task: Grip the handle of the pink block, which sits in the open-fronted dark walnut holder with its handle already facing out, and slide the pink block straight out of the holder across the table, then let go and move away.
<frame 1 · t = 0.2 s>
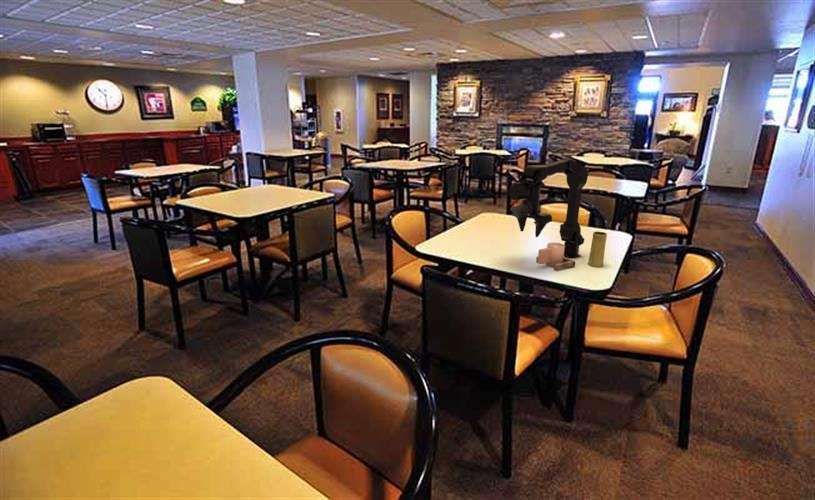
hand: (529, 234, 181), 14 cm above the table, tool pointing down, fingers open, 9 cm apart
vase: (595, 265, 186), on the table
pink block: (550, 255, 184), in the walnut holder
walnut holder: (553, 264, 186), on the table
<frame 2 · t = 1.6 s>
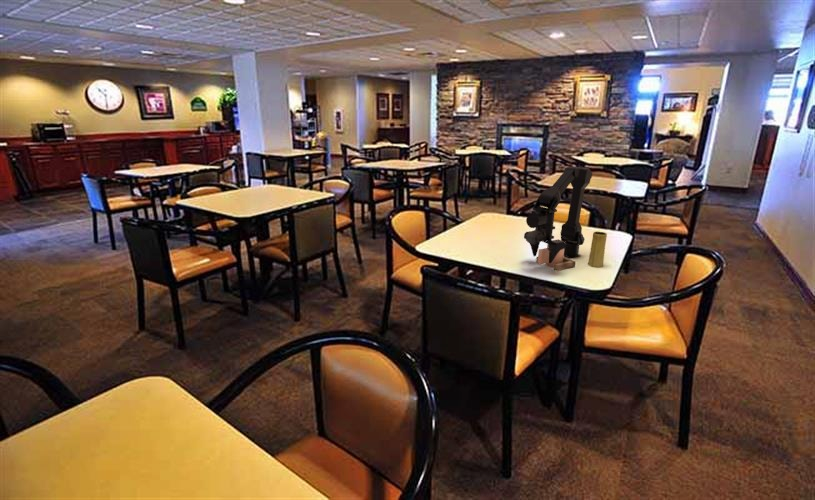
hand: (542, 259, 182), 4 cm above the table, tool pointing down, fingers open, 9 cm apart
nothing on the table moved.
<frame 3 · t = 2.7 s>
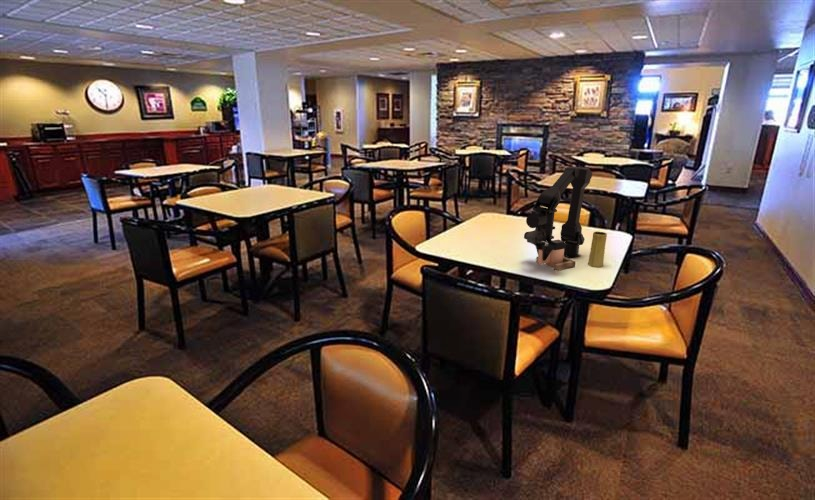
hand: (542, 259, 182), 4 cm above the table, tool pointing down, fingers closed on pink block
pink block: (550, 255, 184), in the walnut holder, touching gripper
everything else where it was.
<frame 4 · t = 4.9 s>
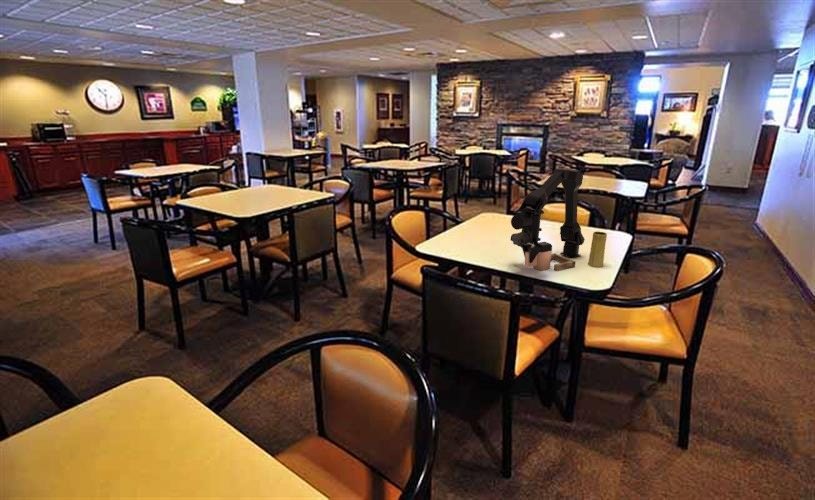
hand: (528, 262, 179), 4 cm above the table, tool pointing down, fingers closed on pink block
pink block: (537, 258, 181), on the table, touching gripper
everything else where it was.
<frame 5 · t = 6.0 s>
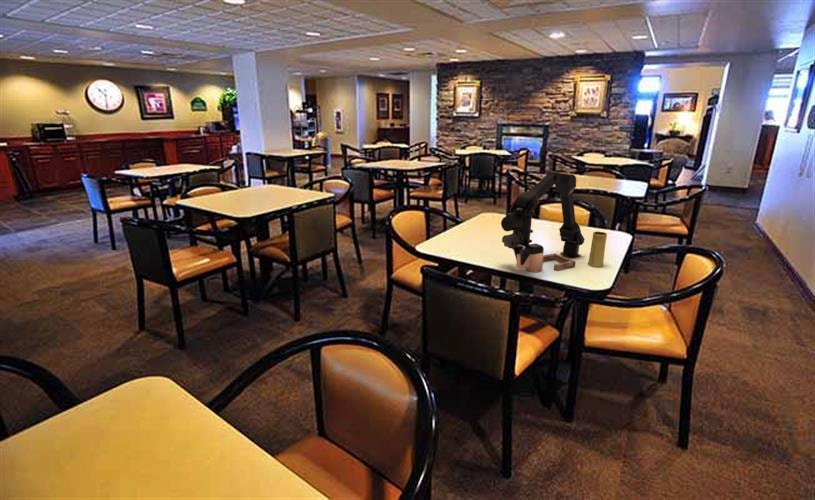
hand: (520, 263, 177), 4 cm above the table, tool pointing down, fingers closed on pink block
pink block: (529, 259, 179), on the table, touching gripper
everything else where it was.
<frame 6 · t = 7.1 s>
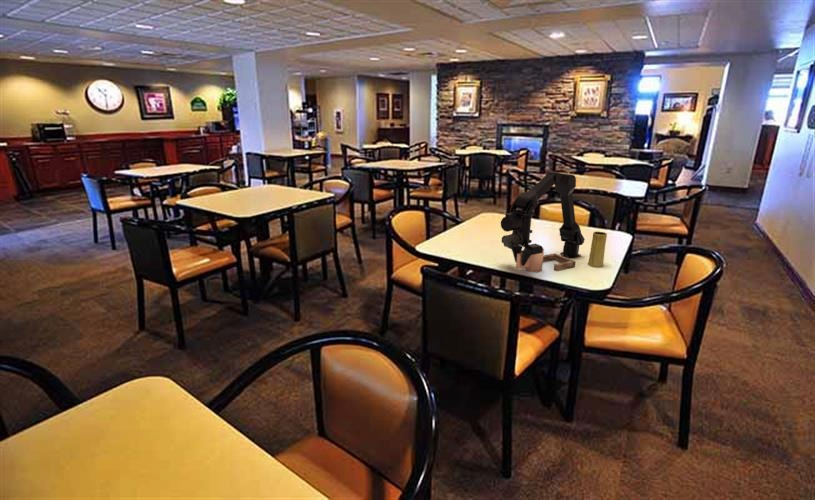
hand: (519, 264, 177), 4 cm above the table, tool pointing down, fingers open, 4 cm apart
pink block: (529, 260, 179), on the table
everything else where it was.
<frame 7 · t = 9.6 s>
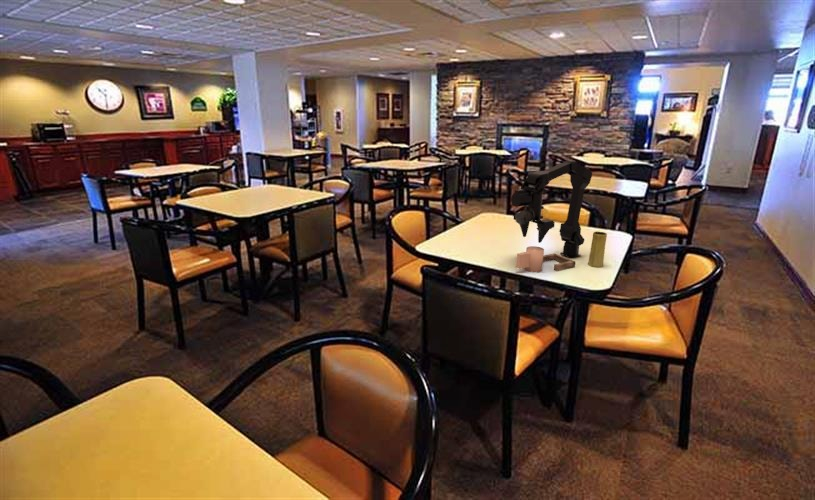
hand: (531, 239, 184), 11 cm above the table, tool pointing down, fingers open, 9 cm apart
nothing on the table moved.
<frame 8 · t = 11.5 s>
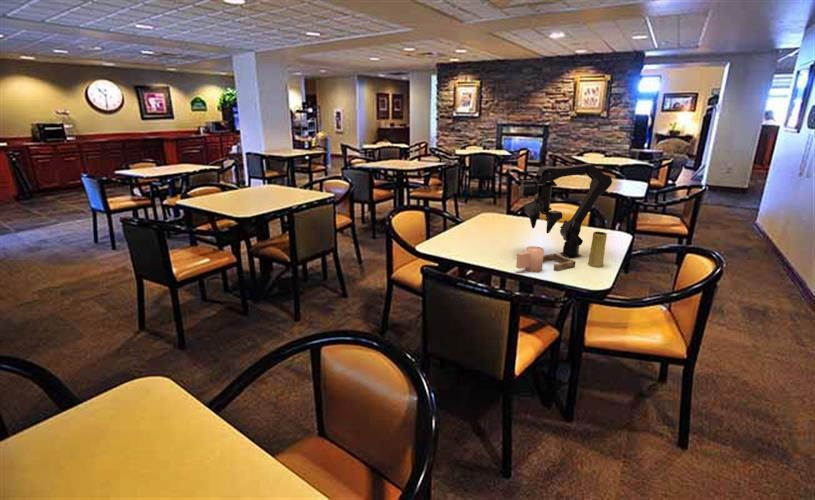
hand: (540, 230, 194), 12 cm above the table, tool pointing down, fingers open, 9 cm apart
nothing on the table moved.
at the end: pink block inside the target area (1.5 cm from its centre), on the table; pink block tilted 0°; the gripper is holding nothing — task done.
